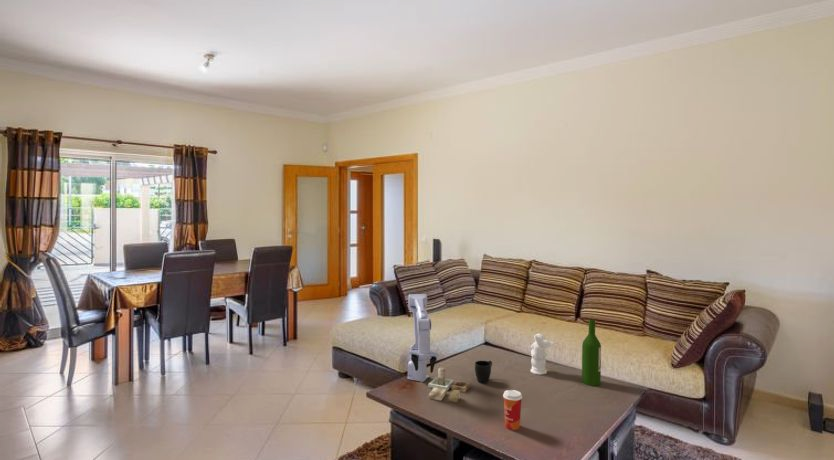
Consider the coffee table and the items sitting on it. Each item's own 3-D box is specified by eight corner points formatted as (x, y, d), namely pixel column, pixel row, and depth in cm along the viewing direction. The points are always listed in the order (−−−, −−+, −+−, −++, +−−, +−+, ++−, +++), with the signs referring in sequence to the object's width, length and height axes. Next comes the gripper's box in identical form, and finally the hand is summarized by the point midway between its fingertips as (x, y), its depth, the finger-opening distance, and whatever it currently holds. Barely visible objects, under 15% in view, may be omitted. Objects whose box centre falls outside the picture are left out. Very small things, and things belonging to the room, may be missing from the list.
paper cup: (500, 422, 178) (500, 389, 177) (518, 421, 179) (518, 388, 178) (506, 432, 170) (506, 397, 170) (524, 431, 171) (525, 396, 170)
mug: (498, 379, 224) (498, 361, 224) (485, 385, 215) (485, 367, 215) (484, 375, 230) (484, 357, 229) (471, 381, 221) (471, 363, 221)
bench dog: (450, 401, 198) (450, 393, 198) (454, 396, 203) (454, 389, 203) (456, 402, 197) (456, 394, 197) (460, 398, 202) (460, 390, 201)
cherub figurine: (534, 367, 241) (535, 328, 240) (556, 372, 234) (557, 332, 233) (526, 373, 231) (527, 333, 230) (549, 379, 224) (549, 337, 223)
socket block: (451, 389, 211) (451, 385, 211) (456, 384, 217) (456, 380, 217) (465, 392, 208) (465, 388, 208) (469, 386, 214) (469, 383, 214)
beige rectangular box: (428, 399, 201) (428, 394, 201) (434, 392, 209) (434, 387, 209) (441, 401, 199) (441, 396, 199) (445, 394, 207) (445, 389, 206)
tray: (428, 387, 214) (428, 384, 214) (435, 380, 223) (435, 377, 223) (446, 391, 209) (446, 387, 209) (454, 383, 218) (454, 380, 218)
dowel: (443, 386, 214) (443, 370, 213) (437, 385, 215) (437, 369, 214) (445, 383, 217) (446, 368, 216) (439, 382, 218) (439, 367, 218)
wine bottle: (601, 387, 213) (602, 322, 212) (582, 384, 216) (583, 321, 215) (599, 380, 222) (600, 318, 221) (581, 378, 225) (582, 317, 223)
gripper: (407, 344, 206) (407, 372, 206) (436, 347, 201) (436, 375, 201) (412, 340, 212) (412, 367, 213) (440, 343, 208) (440, 370, 208)
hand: (424, 371), depth 208 cm, fingers open, 7 cm apart
